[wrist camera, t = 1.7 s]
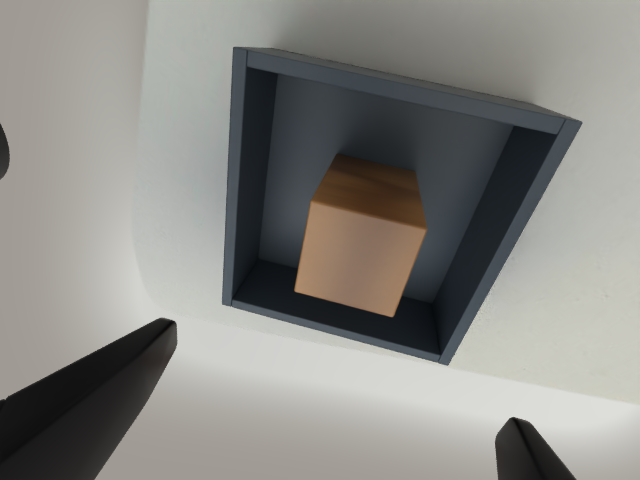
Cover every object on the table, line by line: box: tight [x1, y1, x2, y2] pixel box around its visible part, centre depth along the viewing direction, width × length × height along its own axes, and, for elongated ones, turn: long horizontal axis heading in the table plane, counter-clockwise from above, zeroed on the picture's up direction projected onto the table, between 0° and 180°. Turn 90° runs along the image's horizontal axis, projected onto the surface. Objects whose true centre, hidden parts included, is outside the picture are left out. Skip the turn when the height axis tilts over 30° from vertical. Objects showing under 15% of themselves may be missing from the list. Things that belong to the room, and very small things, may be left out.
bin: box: [222, 47, 582, 366], centre depth 18 cm, size 13×13×5 cm
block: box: [294, 154, 427, 317], centre depth 17 cm, size 4×4×7 cm
